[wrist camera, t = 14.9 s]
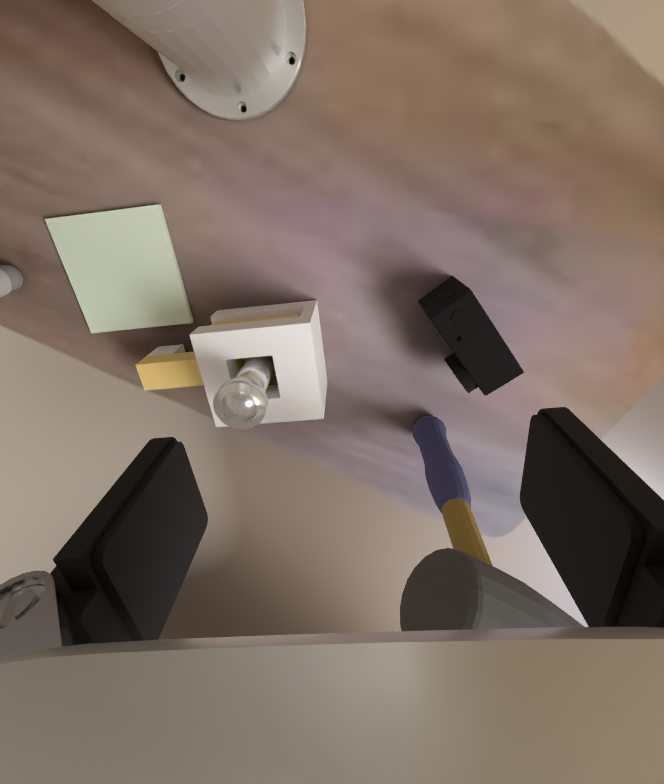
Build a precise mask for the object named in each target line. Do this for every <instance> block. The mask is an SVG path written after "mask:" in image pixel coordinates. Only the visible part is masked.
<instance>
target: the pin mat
mask: <svg viewBox="0 0 664 784" xmlns="http://www.w3.org/2000/svg"><path fill="white" fill-rule="evenodd" d="M45 221H46V224H47V226H48V229H49V231H50V233H51V236H52V238H53V241H54V243H55V246H56V248H57V251H58V253H59V255H60V258H61V260H62V263H63V265H64V268H65V270H66V273H67V275H68V277H69V280H70V282H71V285H72V287H73V290H74V292H75V295H76V297H77V299H78V302H79V304H80V307H81V309H82V312H83V314H84V317H85V319H86V321H87V324H88V326H89V329H90V331H91V333H98V332H108V331H118V330H128V329H138V328H148V327H157V326H167V325H177V324H187V323H193V322H194V321H193V317H192V313H191V310H190V306H189V303H188V299H187V296H186V292H185V288H184V285H183V281H182V278H181V274H180V271H179V267H178V263H177V260H176V256H175V253H174V249H173V246H172V242H171V239H170V235H169V231H168V228H167V224H166V221H165V217H164V214H163V210H162V206H161V204H158V205H151V206H143V207H135V208H127V209H119V210H112V211H104V212H96V213H88V214H81V215H73V216H65V217H57V218H49V219H45Z"/></svg>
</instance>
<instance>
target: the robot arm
mask: <svg viewBox="0 0 664 784" xmlns="http://www.w3.org/2000/svg"><path fill="white" fill-rule="evenodd" d="M92 1H93V2H94V3H96V4H97V5H98V6H100V7H101V8H102V9H103V10H105V11H106V12H107V13H108V14H110V15H111V16H112V17H113V18H115V19H116V20H117V21H119V22H120V23H121V24H123V25H124V26H125V27H126V28H128V29H129V30H130V31H132V32H133V33H134V34H136V35H137V36H138V37H139V38H141V39H142V40H143V41H145V42H146V43H147V44H149V45H150V46H151V47H152V48H154V49H155V50H156V51H158V54H159V57H160V59H161V61H162V63H163V65H164V67H165V69H166V71H167V73H168V75H169V76H170V78H171V79H172V80H173V82H174V83H175V85H176V86H177V88H178V89H179V90H180V91H181V92H182V93H183V94H184V95H185V96H186V97H187V98H188V99H189V100H190V101H191V102H193V103H194V104H195V105H197V106H198V107H199V108H201V109H202V110H204V111H206V112H207V113H209V114H211V115H214V116H217V117H219V118H222V119H226V120H233V121H242V120H251V119H254V118H257V117H260V116H263V115H264V114H266V113H267V112H269V111H271V110H272V109H274V108H275V107H276V106H277V105H278V104H279V103H280V102H281V101H282V100H283V99H284V98H285V97H286V95H287V94H288V92H289V91H290V90H291V88H292V87H293V85H294V83H295V80H296V78H297V76H298V74H299V72H300V69H301V65H302V61H303V57H304V54H305V44H306V14H305V8H304V2H303V0H92ZM292 58H294V59H295V63H294V64H293V65H291V64H290V63H289V62H290V59H292ZM183 75H185V80H184V82H182V76H183ZM243 106H246V108H247V110H246V112H242V107H243ZM520 502H521V506H522V508H523V511H524V512H525V514H526V516H527V518H528V519H529V521H530V523H531V525H532V527H533V528H534V530H535V532H536V534H537V535H538V537H539V539H540V541H541V543H542V544H543V546H544V548H545V549H546V551H547V553H548V555H549V557H550V558H551V560H552V562H553V564H554V565H555V567H556V569H557V571H558V573H559V574H560V576H561V578H562V580H563V582H564V583H565V585H566V587H567V589H568V591H569V592H570V594H571V596H572V598H573V599H574V601H575V603H576V605H577V606H578V608H579V610H580V612H581V613H582V615H583V617H584V619H585V620H586V623H587V624H588V626H589V627H548V628H509V629H471V630H433V631H399V632H369V633H368V632H366V633H336V634H335V633H334V634H305V635H304V634H303V635H273V636H247V637H219V638H193V639H168V640H167V639H166V640H158V639H159V637H160V635H161V632H162V630H163V628H164V625H165V623H166V621H167V618H168V616H169V614H170V611H171V609H172V607H173V604H174V602H175V599H176V597H177V595H178V593H179V590H180V588H181V586H182V583H183V581H184V578H185V576H186V574H187V571H188V569H189V567H190V564H191V562H192V560H193V557H194V555H195V553H196V550H197V548H198V546H199V543H200V541H201V539H202V536H203V534H204V532H205V529H206V526H207V522H208V517H207V512H206V509H205V506H204V503H203V500H202V497H201V494H200V491H199V489H198V486H197V483H196V480H195V477H194V474H193V471H192V468H191V466H190V462H189V459H188V457H187V454H186V451H185V448H184V445H183V444H182V443H181V442H177V440H176V439H175V438H173V437H167V438H154V439H151V440H150V441H149V442H148V443H147V444H146V445H145V447H144V448H143V449H142V450H141V452H140V453H139V454H138V455H137V457H136V458H135V459H134V460H133V461H132V463H131V464H130V465H129V466H128V468H127V469H126V470H125V472H124V473H123V474H122V475H121V476H120V478H119V479H118V480H117V481H116V482H115V484H114V485H113V486H112V487H111V489H110V490H109V491H108V492H107V494H106V495H105V496H104V497H103V498H102V500H101V501H100V502H99V503H98V505H97V506H96V507H95V508H94V509H93V511H92V512H91V513H90V514H89V516H88V517H87V518H86V519H85V520H84V522H83V523H82V524H81V526H80V527H79V528H78V529H77V531H76V532H75V533H74V534H73V535H72V537H71V538H70V539H69V540H68V541H67V543H66V544H65V545H64V546H63V548H62V549H61V550H60V551H59V552H58V554H57V555H56V556H55V557H54V559H53V561H54V562H55V564H56V565H57V566H56V567H55V568H54V570H53V571H52V572H51V573H50V574H49V573H48V572H45V571H32V572H27V573H23V574H21V575H19V576H16V577H14V578H11V579H10V580H8V581H6V582H4V583H3V584H1V585H0V784H664V500H663V499H662V498H661V497H660V496H659V495H658V494H656V493H655V492H654V491H653V490H652V489H651V488H650V487H649V486H648V485H647V484H646V483H645V482H644V481H643V480H642V479H641V478H640V477H638V475H637V474H636V473H635V472H634V471H632V470H631V469H630V468H629V467H628V466H627V465H626V464H625V463H624V462H623V461H622V460H621V459H620V458H619V457H618V456H617V455H616V454H615V453H614V452H613V451H611V449H610V448H608V447H607V446H606V445H605V444H604V443H603V442H602V441H601V440H600V439H599V438H598V437H597V436H596V435H595V434H594V433H593V432H592V431H591V430H590V429H589V428H588V427H587V426H586V425H584V424H583V423H582V422H581V421H580V420H579V419H578V418H577V417H576V416H575V415H574V414H573V413H572V412H571V411H570V410H569V409H567V408H566V407H559V408H546V409H540V410H539V412H538V414H537V415H533V416H532V417H531V421H530V427H529V434H528V441H527V449H526V456H525V463H524V470H523V477H522V484H521V491H520Z"/></svg>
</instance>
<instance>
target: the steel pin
mask: <svg viewBox="0 0 664 784" xmlns="http://www.w3.org/2000/svg"><path fill="white" fill-rule="evenodd" d="M274 370H275V367H274V362H273V356H261V357H251V358H247V360H246V362H245V363H244V365H243V367H242V368H241V370H240V372H239V373H238V375H237V376H236V378H232V379H229V380H227V381H226V382H224V383H223V384H222V385H221V387H220V388H219V390H218V391H217V393H216V394H215V396H214V399H213V408H214V411H215V413H216V415H217V417H218V418H219V419H220V420H221V421H222V422H223V423H224V424H226V425H228V426H230V427H232V428H235V429H250V428H253V427H255V426H257V425H258V424H259V423H260V422H261V421H262V420H263V418H264V416H265V413H266V410H267V407H268V398H267V395H266V392H265V391H266V389H267V387H268V384H269V382H270V379H271V377H272V374H273V372H274Z"/></svg>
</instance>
